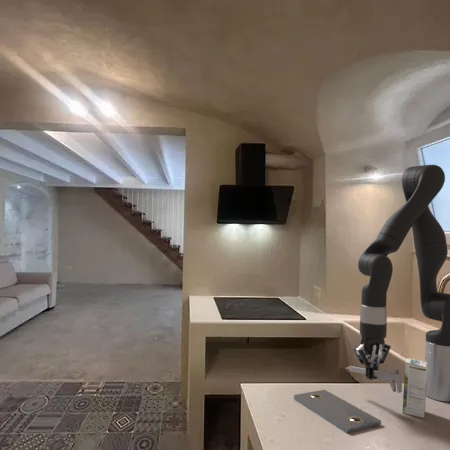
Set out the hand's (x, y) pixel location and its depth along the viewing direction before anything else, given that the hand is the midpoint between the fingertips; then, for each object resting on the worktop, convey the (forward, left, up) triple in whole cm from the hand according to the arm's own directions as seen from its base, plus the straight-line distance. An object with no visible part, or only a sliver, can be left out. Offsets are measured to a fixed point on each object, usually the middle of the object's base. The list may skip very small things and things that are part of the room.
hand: (371, 378), depth 117 cm
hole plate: (+13, -1, -8) cm, 16 cm away
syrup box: (-9, +8, -8) cm, 14 cm away
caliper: (0, 0, -1) cm, 1 cm away
